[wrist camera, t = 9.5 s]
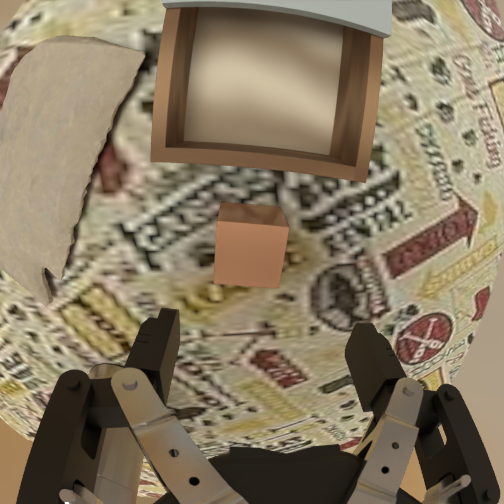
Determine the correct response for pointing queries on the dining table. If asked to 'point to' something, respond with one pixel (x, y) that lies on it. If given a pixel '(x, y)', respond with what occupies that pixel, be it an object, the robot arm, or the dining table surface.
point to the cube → (250, 245)
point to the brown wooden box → (266, 92)
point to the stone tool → (55, 148)
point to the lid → (315, 11)
